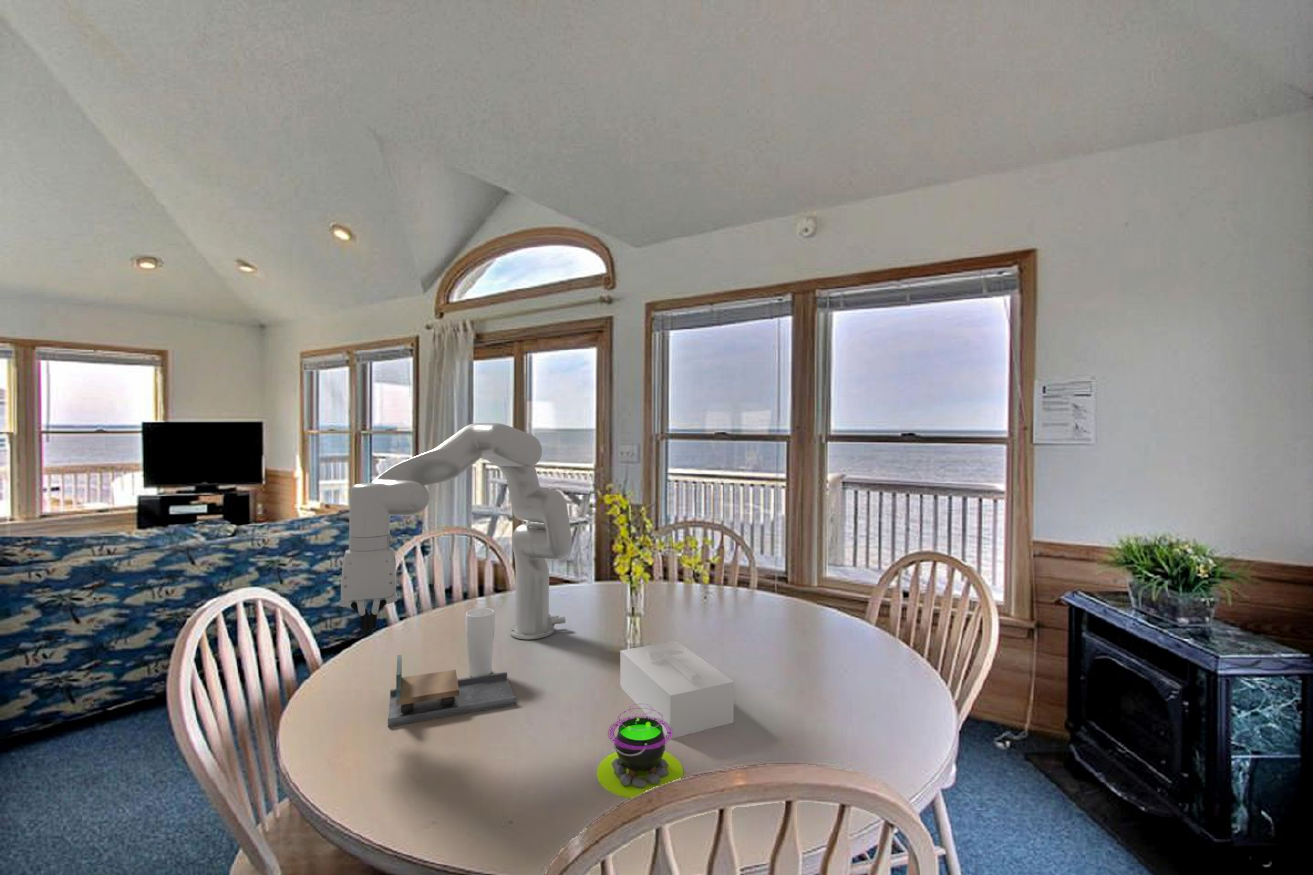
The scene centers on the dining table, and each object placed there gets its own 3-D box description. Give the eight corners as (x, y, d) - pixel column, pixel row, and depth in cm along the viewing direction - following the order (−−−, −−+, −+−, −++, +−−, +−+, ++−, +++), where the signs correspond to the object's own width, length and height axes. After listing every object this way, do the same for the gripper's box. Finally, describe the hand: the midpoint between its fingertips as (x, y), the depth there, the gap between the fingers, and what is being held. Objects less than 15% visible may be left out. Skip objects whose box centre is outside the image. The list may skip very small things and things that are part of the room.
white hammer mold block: (675, 676, 141) (675, 631, 141) (733, 723, 119) (733, 670, 118) (620, 687, 135) (620, 640, 134) (670, 740, 112) (670, 683, 112)
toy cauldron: (591, 753, 107) (592, 694, 107) (671, 744, 111) (671, 686, 110) (603, 805, 93) (603, 736, 92) (694, 792, 96) (694, 726, 96)
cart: (455, 685, 133) (455, 647, 132) (459, 706, 122) (459, 666, 122) (397, 694, 128) (397, 655, 128) (396, 717, 118) (396, 675, 118)
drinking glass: (498, 668, 144) (498, 608, 144) (488, 680, 137) (488, 617, 137) (472, 667, 145) (472, 607, 144) (460, 679, 138) (460, 615, 138)
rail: (506, 678, 138) (506, 671, 138) (516, 704, 125) (516, 697, 125) (390, 696, 129) (390, 689, 129) (387, 726, 116) (387, 718, 116)
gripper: (409, 538, 127) (408, 623, 127) (330, 542, 121) (329, 631, 121) (409, 544, 120) (407, 634, 120) (325, 549, 114) (324, 643, 114)
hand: (368, 632), depth 120 cm, fingers closed
